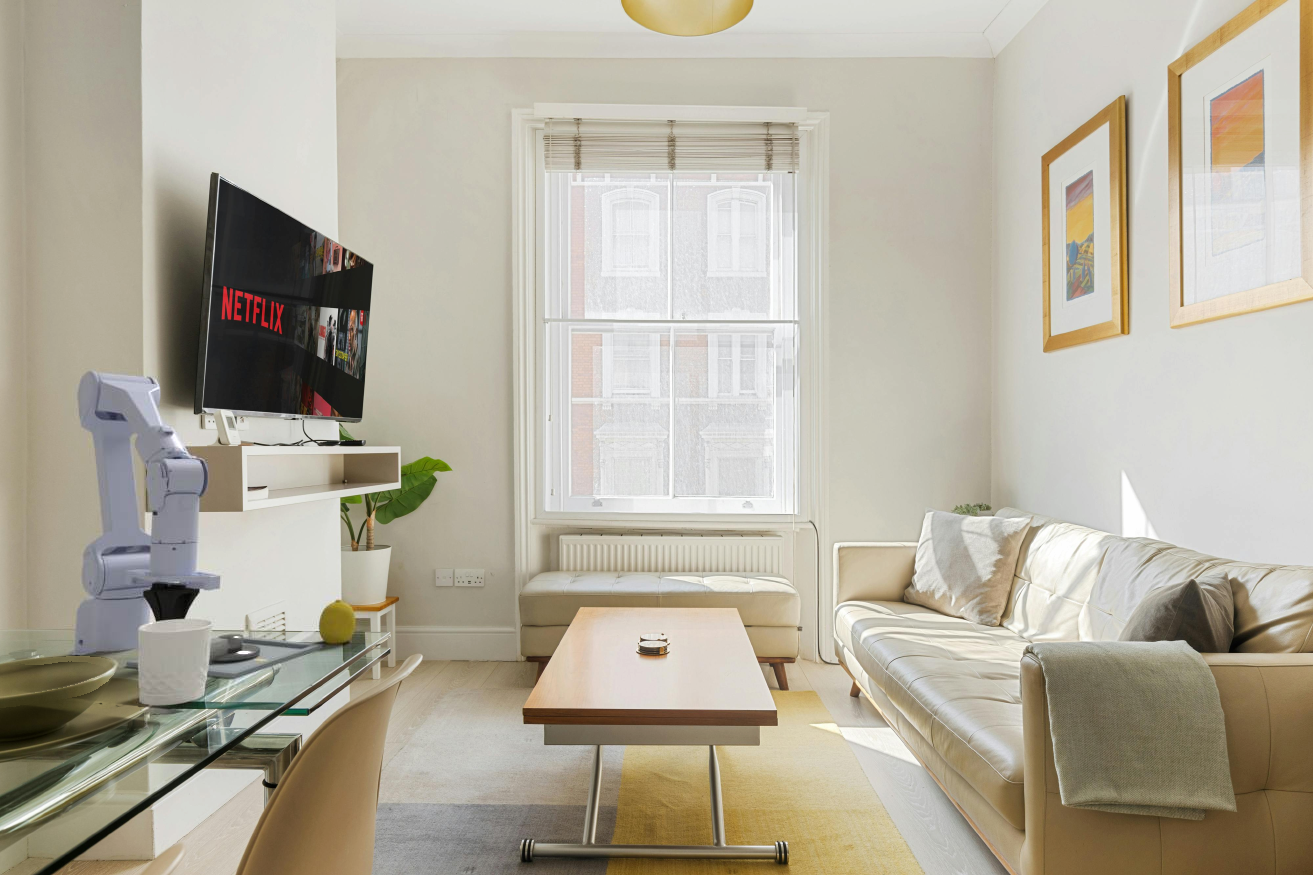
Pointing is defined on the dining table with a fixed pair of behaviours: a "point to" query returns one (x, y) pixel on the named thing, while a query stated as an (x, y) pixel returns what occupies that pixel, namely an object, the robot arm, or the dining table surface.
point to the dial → (231, 649)
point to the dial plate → (257, 657)
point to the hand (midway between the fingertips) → (169, 637)
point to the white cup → (173, 662)
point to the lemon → (337, 623)
